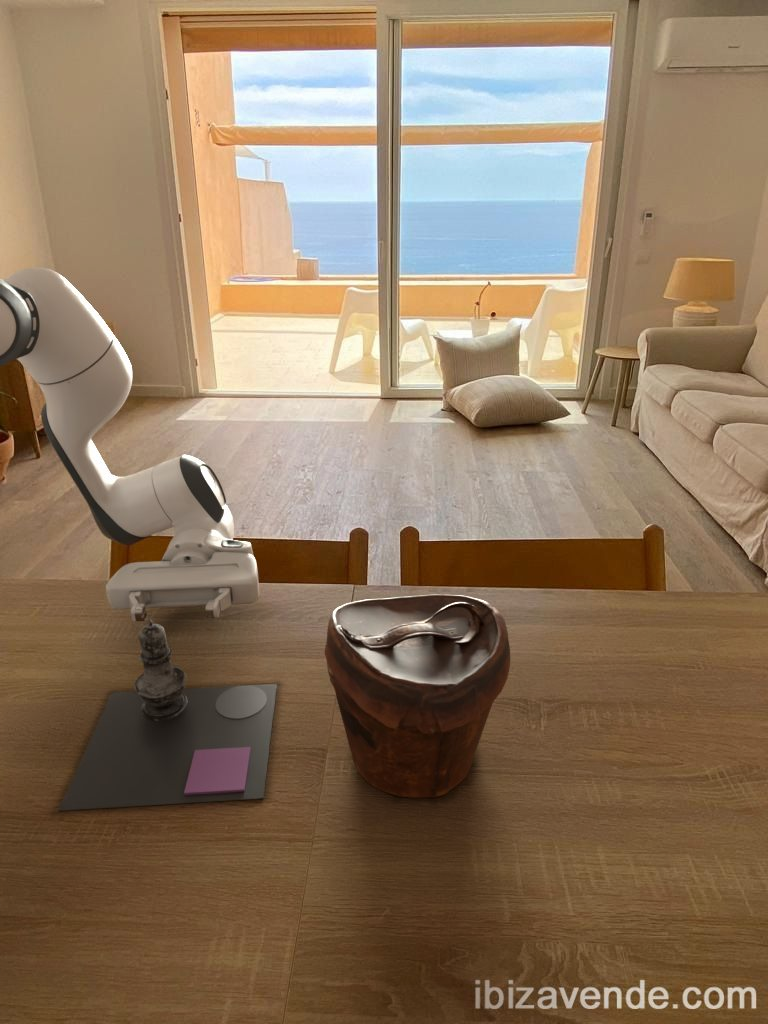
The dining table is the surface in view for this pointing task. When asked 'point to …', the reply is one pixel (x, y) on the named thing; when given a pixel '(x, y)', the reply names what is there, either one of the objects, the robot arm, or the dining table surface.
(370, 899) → the dining table surface
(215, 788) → the pink square tile
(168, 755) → the mat
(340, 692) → the brown pot
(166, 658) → the chess piece
